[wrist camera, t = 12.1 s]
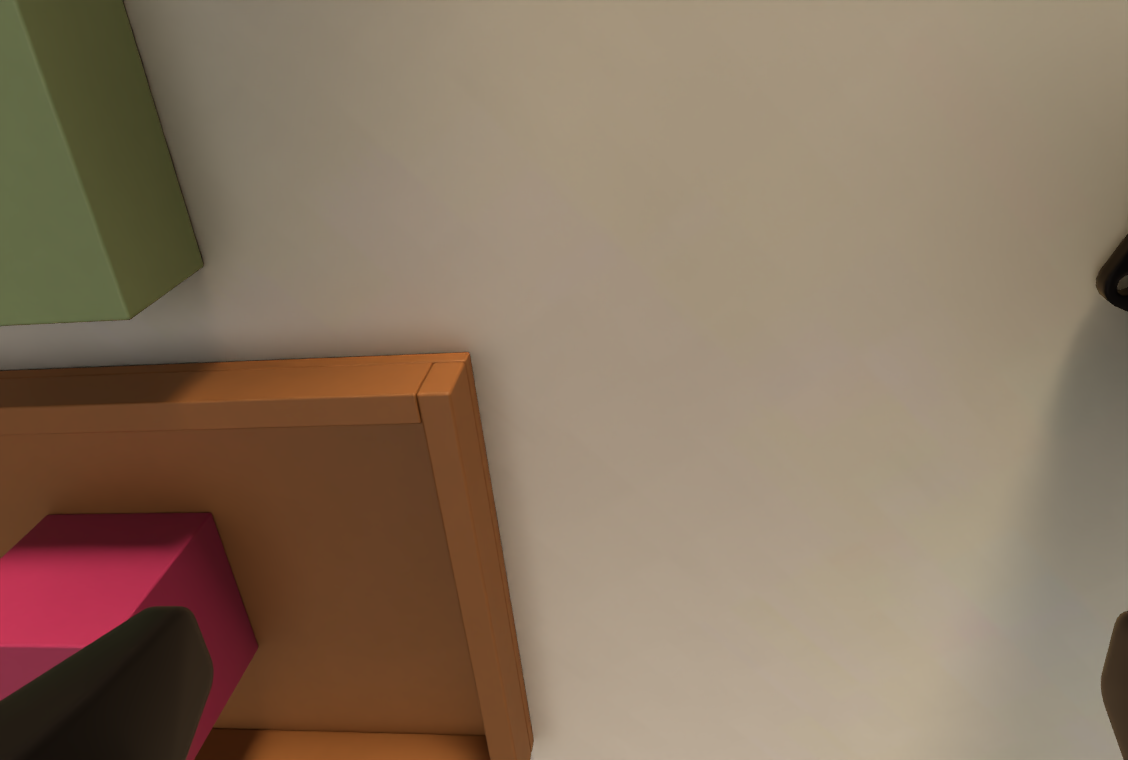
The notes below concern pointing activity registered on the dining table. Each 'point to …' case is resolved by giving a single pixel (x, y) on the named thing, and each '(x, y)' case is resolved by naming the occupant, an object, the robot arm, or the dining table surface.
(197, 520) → the mulberry block
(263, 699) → the tray
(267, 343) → the dining table surface
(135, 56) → the green rectangular block
